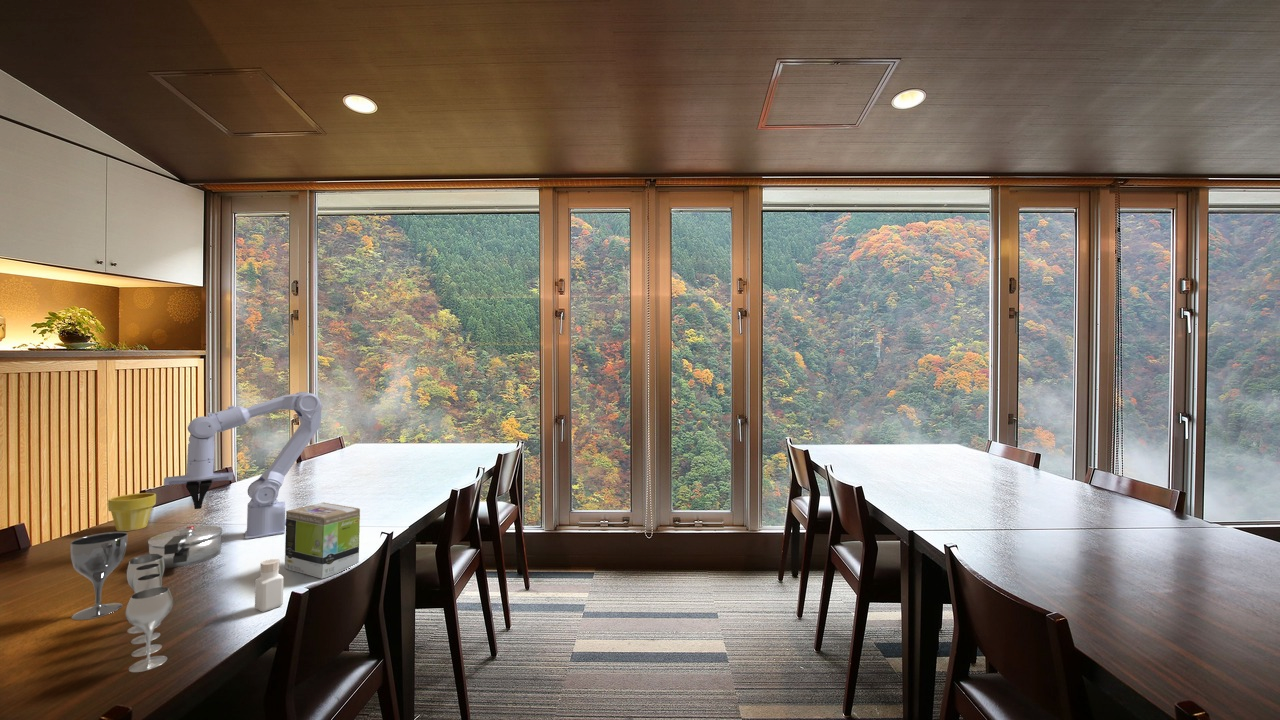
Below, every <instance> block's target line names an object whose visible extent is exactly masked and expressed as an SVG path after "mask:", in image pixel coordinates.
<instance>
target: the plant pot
mask: <svg viewBox="0 0 1280 720" xmlns="http://www.w3.org/2000/svg"><path fill="white" fill-rule="evenodd" d="M156 502H157V493H154V492H141V493H131V494H123V495H118V496H114V497H111V498H109V499H108V501H107V507H108V508H107V510H108V512H111V515H112V520H113V523H114V527H115V530H116V532H131V531H136V530H141V529H144V528H146V527H147V526H148V524H149V519H150V517H151V513H152V509H153V507H154V506H155V505H156Z"/></svg>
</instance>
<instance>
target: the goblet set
mask: <svg viewBox="0 0 1280 720" xmlns="http://www.w3.org/2000/svg"><path fill="white" fill-rule="evenodd" d="M164 567H165V565H164V558H163V556H162V555H159V554H149V553H148V554H142V555H138V556H135V557H132V558H131V559H129V562H128V565H127V569H126V579H127V583H128V585H129V587H130V589H132V590H133V592H134V593H133V594H132V595H131V597H130V598H129V601H128V603H127V605H126V609H125V618H126V620H127V622H128V623H129V624H130V625H132V626H131V627H129V629H127V633H128V634H133V635H135V634H141V633H144V634H142V635H139V636H136V637H134V638H133V639H132V640H131V641H130V644H132V645H140V644H145V646H142V647H139V648H137V649H136V650H134V651H132V652H131V656H132V657H134V658H137V657H138V658H139V657H145V656H146V658H143V659H141V660H139V661H136V662H135V663H133V664H132V665H131V666H129V668H128V671H129V672H131V673H139V672H140V673H141V672H145V671H149V670H153V669H155V668H157V667H159V666H161V665H163V664H165V662H167V660H168V657H167V656H166V655H154V656H151V654H154V653H156V652H158V651H159V650H161V649H162V647H163V645H162V644H157V643H155V644H151V643H152V641H153V640H156V639H159V637H160V636H161V633H160V632H154V631H155V629H156V628H158V627H160V626H161V625H162V621H163V620H164V619H165V618H166V617H167V616H168V615H169V613H170V612H171V611H172V609H173V605H174V598H173V594H172V593H171V590H170V588H169V587H167V586H163V581H162V579H163V577H164V573H165V568H164Z"/></svg>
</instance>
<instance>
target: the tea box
mask: <svg viewBox="0 0 1280 720" xmlns="http://www.w3.org/2000/svg"><path fill="white" fill-rule="evenodd" d="M285 520H286V526H285V543H284V548H285V549H284V569H285V570H289V571H292V572H297V573H301V574H304V575H308V576H311V577H315V578H318V579H321V580H323V579H326V578H330V577H331V576H334V574H335V575H337V573H338V574H340V573H342V572H341V571H343V570H345V569H347V568H349V567H351V566H353V565H355V564H357V563H359V561H360V530H361V529H360V528H361V526H360V523H361V521H360V520H361V508H359V507H354V506H348V505H347V506H346V505H341V504H335V503H330V502H319V503H315V504H310V505H307V506H301V507H297V508H293V509H289V510H285ZM339 572H340V573H339ZM343 572H344V571H343Z"/></svg>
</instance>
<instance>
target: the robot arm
mask: <svg viewBox="0 0 1280 720" xmlns="http://www.w3.org/2000/svg"><path fill="white" fill-rule="evenodd" d="M279 410H289V411H294V412H295V413H296V414H297V417H298V420H299V423H300V425H299V426H298V427H297V429H296V430H295V432H293V434H292V436H291V437H290V438H289V440H288V441H287V442H286V444H285V445H284V447H283V448H282V449H281V451H280V452H279V453H278V455H277V456H276V457H275V459H274V460H273V462H272V463H271V465H270V466H269V467H268V469H266V470H265V471H264V472H263V473H261V474H260V476H259V478H257V479H256V480H254V481H253V482H251V483H250V485H249V486H248V487H247V495H248V497H249V498H251V499H250V501H249V502H248V503H247V510H246V511H247V512H246V514H247V515H246V516H247V517H246V530H245V531H244V532H245V534H244V539H245V540H249V539H255V538H261V537H267V536H274V535H275V536H276V535H281V534H286V501H278V497H279V493H280V489H281V487H282V485H283V483H284V479H285V477H286V476H287V474H288V472H289V471H290V470H291V468H292V467H293V466H294V464H295V463H296V462H297V460H298V458H299V457H300V456H301V455H302V453H303V452H304V450H305V448H306V447H307V446H308V445H309V443H310V442H311V440H312V438H314V436H315V434H316V433H317V432H318V430H319V429H320V427H321V425H322V410H323V404H322V403H321V400H320V398H319V396H318V395H317V394H315V393H313V392H312V393H311V392H306V391H299V392H296V393H290V394H285V395H281V396H278V397H274V398H272V399H270V400H265V401H264V402H263V401H262V402H260V403H257V404H254V405H251V406H248V407H243V406H241V405H237V406H234V405H230V406H227V409H223V410H220V411H217V412H214V413H213V412H208V413H207V416H205V415H204V416H203V415H202V416H197V417H194V418H193V419H192V420H191V421H190V422H189V423H188V425H187V431H188V433H190V434H189V437H188V441H189V442H188V444H187V456H186V457H187V458H186V460H187V461H186V472H185V473H186V474H183V475H177V476H166V477H164V479H163V486H170V485H183V484H186V485H185V487H186V490H187V491H188V493H189V494H190V495H189V496H191V498H192V502H193V507H194V510H200V509H202V507H203V502H204V499H205V497H206V495H207V493H208V491H209V489H210V487H211V486H212V484H213V482H219V481H233V480H234V472H233V471H232V472H214V467H215V465H214V464H215V448H216V447H215V446H216V443H215V435H216V433H217V432H219V433H222V432H225V431H228V430H231V429H234V428H237V427H238V428H239V427H240V426H244V425H247V424H248V422H249V420H250V419H251V418H254V417H258V416H261V415H265V414H268V413H271V412H275V411H279Z"/></svg>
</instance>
